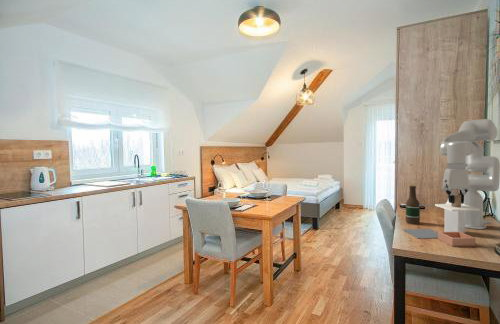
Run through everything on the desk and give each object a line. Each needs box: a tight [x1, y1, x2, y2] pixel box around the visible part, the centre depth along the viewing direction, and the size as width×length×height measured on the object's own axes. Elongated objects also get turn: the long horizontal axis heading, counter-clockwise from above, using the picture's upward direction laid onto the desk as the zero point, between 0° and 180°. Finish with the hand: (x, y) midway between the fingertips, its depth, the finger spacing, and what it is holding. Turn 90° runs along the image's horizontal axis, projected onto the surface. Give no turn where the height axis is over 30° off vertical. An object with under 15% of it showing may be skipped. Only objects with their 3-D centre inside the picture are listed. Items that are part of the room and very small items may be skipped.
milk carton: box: [443, 200, 466, 234], centre depth 157 cm, size 7×7×19 cm
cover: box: [434, 193, 480, 211], centre depth 140 cm, size 13×13×7 cm
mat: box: [402, 228, 439, 240], centre depth 156 cm, size 16×16×1 cm
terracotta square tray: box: [437, 231, 476, 248], centre depth 141 cm, size 11×11×4 cm
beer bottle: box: [405, 185, 421, 225], centre depth 178 cm, size 8×8×24 cm
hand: (456, 202), depth 140 cm, fingers closed on cover, 4 cm apart
